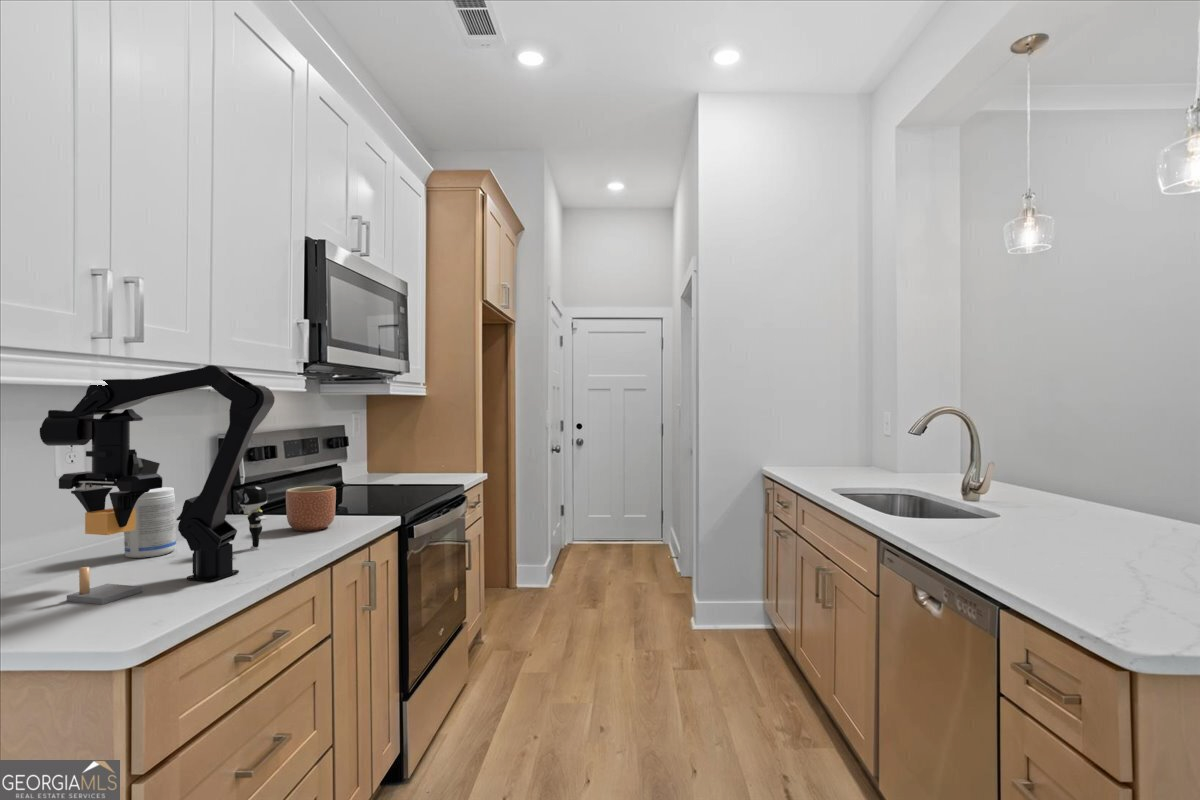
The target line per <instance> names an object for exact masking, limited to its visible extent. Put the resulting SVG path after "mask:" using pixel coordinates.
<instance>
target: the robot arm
mask: <svg viewBox="0 0 1200 800" xmlns="http://www.w3.org/2000/svg"><path fill="white" fill-rule="evenodd" d="M102 380H103V381H105V382H106V383H107V384H108V385H105V386H102V385H98V386H97V385H90V384H89V386H88V387H87V389H86V392H85V395H84V396H83V397H82V399H80V401H79V402H78V403H77V404H76V406H74V408H73V409H72V410H63V409H49V410H48V411H47V416H46V417H45V418H44V420H43V421H42V424H41V427H40V428H39V437H40V440H41V441H42V443H43V445H45V446H49V447H50V446H55V447H56V446H57V447H58V446H85V445H87V444H88V443H89V442H90V441H91V450H86V451H85V457H88V458H89V457H90V458H91V471H89V470H87V471H78V472H77V471H76V472H70V473H63V474H62V475H61V476H60V477H59V478H58V489H61V490H71V491H70V493H71V494H72V495H74V496H75V497H76V498H77V500H78V501H79V502H80V504H81V506H82V507H83V508H84V510H85V511H86V512H92V511H98V510H104V509H106V498H107V496H108V495H109V498H110V502H111V505H112V506H111V507H112V508H113V509H114V513H115V517H116V520H117V523H118V525H119V527H125V526H126V525H127V522H128V520H129V518H130V515H131V513H132V510H133V508H134V506H135V503H136V502H137V500H138V498H139V497H140V496H141V495H143V494H144V493H145V492H149V490H150V489H157V488H162V487H163V477H162V476H161V475H160V474H159V473H158V471H159V467H160V464H161V463H160V462H156V461H154V460H153V461H152V460H149V459H146V458H141V457H138V456H137V455H138V453H137V450H136V449H134V448H131V447H130V445H131V444H130V443H131V441H130V440H131V439H130V437H131V433H130V431H131V423H130V422H142V421H143V420H144V417H142V416H141V415H140V414H138V413H136V411H135V410H134V409H132V408H131V407H134V406H137V405H139V404H140V405H141V404H142V403H144V402H146V401H147V400H150V399H153V398H156V397H162V396H167V395H173V394H178V393H183V392H189V391H194V390H199V389H204V388H209V387H211V388H213V390H215V391H216V392H217V393H218V394H220V395H221V396H223V397H225V398H226V399H227V400H229V401H230V406H229V412H228V413H229V415H228V416H229V426H228V428H227V431H226V433H225V436H224V438H223V440H222V442H221V445H220V447H219V449H218V452H217V454H216V456H215V459H214V462H213V463H212V466H211V469H210V471H209V473H208V475H207V478H206V481H205V483H204V484H203V488H202V489H201V492H200V493H199V494H198V495H197V496H193V497H190V498H188V499H185V500H184V502H183V505H182V510H181V513H180V514H179V515H178V517H177V518H175V519H176V521H179V522H178V525H177V531H178V532H179V534H180V536H182V538H184V539H185V540H186V543H187V544H188V547H189V549H190V551H192V575H188V576H186V580H191V581H202V582H203V581H204V582H214V581H218V580H222V579H224V578H227V577H230V576H234V575H236V574H238V573H240V569H239V570H238V569H233V562H234V561H233V559H234V558H233V553H234V552H233V543H230V542H232V541H234V540H235V538H236V536H237V534H238V529H236V527H234V526H233V525H232V524H230V522H228V521H227V520H226V516H227V512H228V494H229V492H230V489H231V487H232V485H233V482H234V480H235V478H236V475H237V473H238V470H239V467H240V466H241V462H242V460H243V458H244V455H245V454H246V450H247V449H248V446H249V443H250V442H251V439H252V436H253V433H254V431H255V430H256V429H257V428H258V426H260V424H261V423H262V422H263V421H264V419H266V417H267V416H268V414H269V412H270V411H271V409H272V408H273V406H274V404H275V401H276V400H275V399H276V398H275V396H274V394H273V391H272V390H271V389H270V388H269V387H266V386H264V385H259V384H253V383H251V382H250V381H248V380H246V379H244V378H242V377H240V376H238V375H236V374H235V373H233V372H231V371H229V370H227V368H225V367H223V366H221V365H212V364H211V365H205V366H204V367H200V368H193V369H188V370H183V371H178V372H177V371H176V372H171V373H167V374H162V375H156V376H149V377H144V378H133V379H132V378H129V379H128V378H123V379H121V378H118V379H117V378H116V379H115V378H113V379H111V378H110V379H102ZM117 410H123V411H122V412H114V411H117ZM98 415H102V416H101V417H100V418H95V417H94V416H98ZM114 487H116V488H117V489H118V491H113V492H111V491H112V490H113V488H114ZM72 489H74V490H72Z"/></svg>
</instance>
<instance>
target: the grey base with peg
mask: <svg viewBox="0 0 1200 800" xmlns="http://www.w3.org/2000/svg"><path fill="white" fill-rule="evenodd" d="M90 569H91V567H90V566H83V567H79V568H78V572H79V573H78V574H79V576H78V577H79V579H78V581H79V583H78V585H79V586H78V588H79V591H76V592H73V593H70V594H69V593H68V594H66V602H74V603H84V604H85V603H86V604H95V605H96V604H97V605H105V604H108V603H111V602H114V601H118V600H120V599H123V598H128V597H129V596H133V595H136V594H139V593H142V591H143V590H142V589H143V586H141V585H129V584H128V585H127V584H119V583H118V584H117V583H103V584H101V585H98V586H93V587H90V586H91V583H90V582H91V581H90V579H91V577H90V576H91V573H90V572H91V570H90Z"/></svg>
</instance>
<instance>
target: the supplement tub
mask: <svg viewBox="0 0 1200 800" xmlns="http://www.w3.org/2000/svg"><path fill="white" fill-rule="evenodd" d="M133 509H136V529H135V530H130V531H126V532H123V533H124V535H123V538H124V539H123V540H124V541H123V543H124V544H123V545H124V555H125V556H126V557H127V558H130V559H143V558H153V557H160V556H163V555H168V554H170V553H172V552H174V551H175V550H176V548H177V531H176V530H177V529H176V525H177V524H176V522H177V520H176V519H177V518H176V496H175V489H174V487H169V486H162V488H157V489H150V490H149V492H145V493H144V494H143V495H141V496H140V497H139V498H138V500H137V502H136V503H135V506H134V508H133Z"/></svg>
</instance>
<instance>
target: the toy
mask: <svg viewBox="0 0 1200 800" xmlns="http://www.w3.org/2000/svg"><path fill="white" fill-rule="evenodd" d="M241 495H242V500H241V502H240V503H239V505H240V508H241V509H242V511H243V514H244V515H247V520H248V524H249V525H248V529H249V532H250V534H251V539H252V546H250V548H249V550H251V551H258V550H259V545H260V535H261V532H262V531H263V525H262V523H261V521H263V520H268V518H267V517H266V515H264V514H263V510H262V509H261V506H264V505H265V504H267V503H268V500H269V493H268V490H267V487H266V486H262V485H256V484H255V485H249V486H248V485H247V486H244V487H243V490H242V494H241Z"/></svg>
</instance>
